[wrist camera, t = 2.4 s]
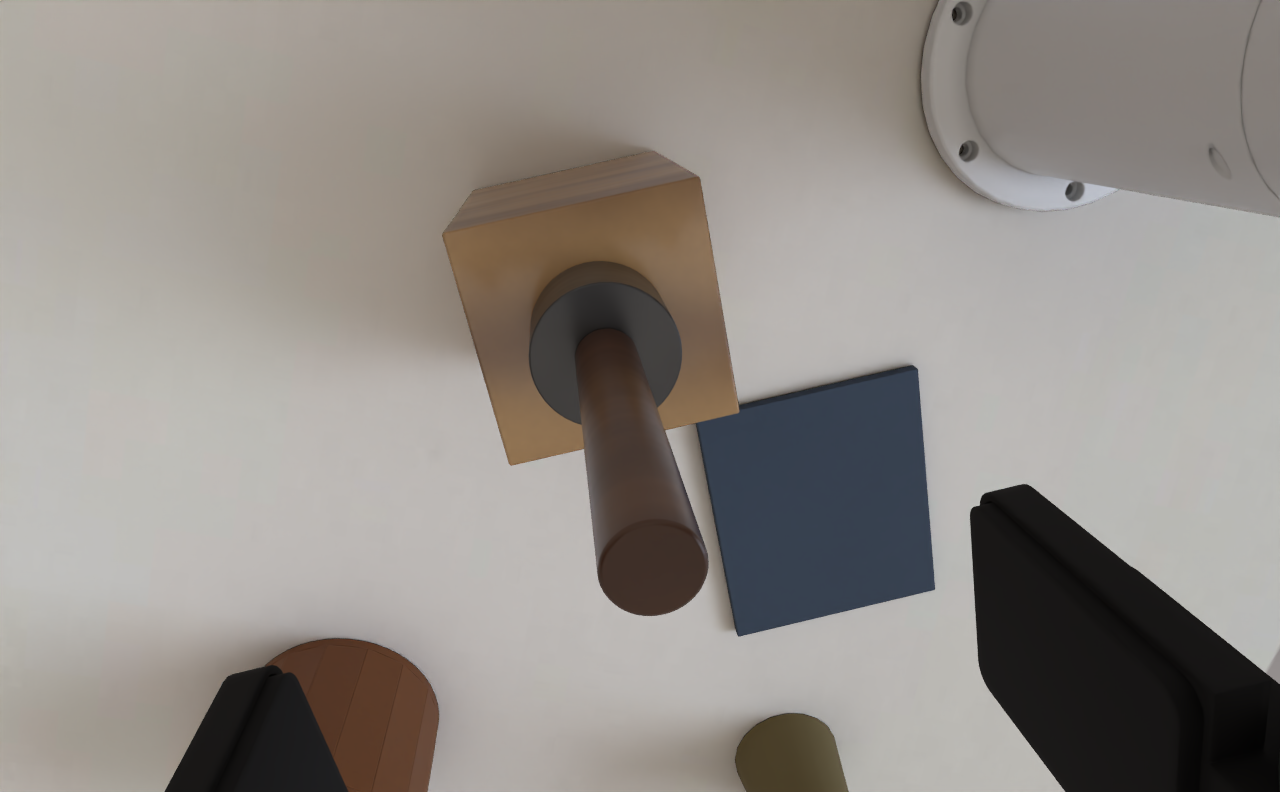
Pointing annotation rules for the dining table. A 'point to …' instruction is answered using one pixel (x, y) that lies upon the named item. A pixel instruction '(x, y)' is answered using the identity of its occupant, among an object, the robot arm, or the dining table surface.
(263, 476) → the dining table surface
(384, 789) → the jar
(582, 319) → the brush
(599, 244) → the tall wooden block
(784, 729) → the olive game pawn
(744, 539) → the mat
